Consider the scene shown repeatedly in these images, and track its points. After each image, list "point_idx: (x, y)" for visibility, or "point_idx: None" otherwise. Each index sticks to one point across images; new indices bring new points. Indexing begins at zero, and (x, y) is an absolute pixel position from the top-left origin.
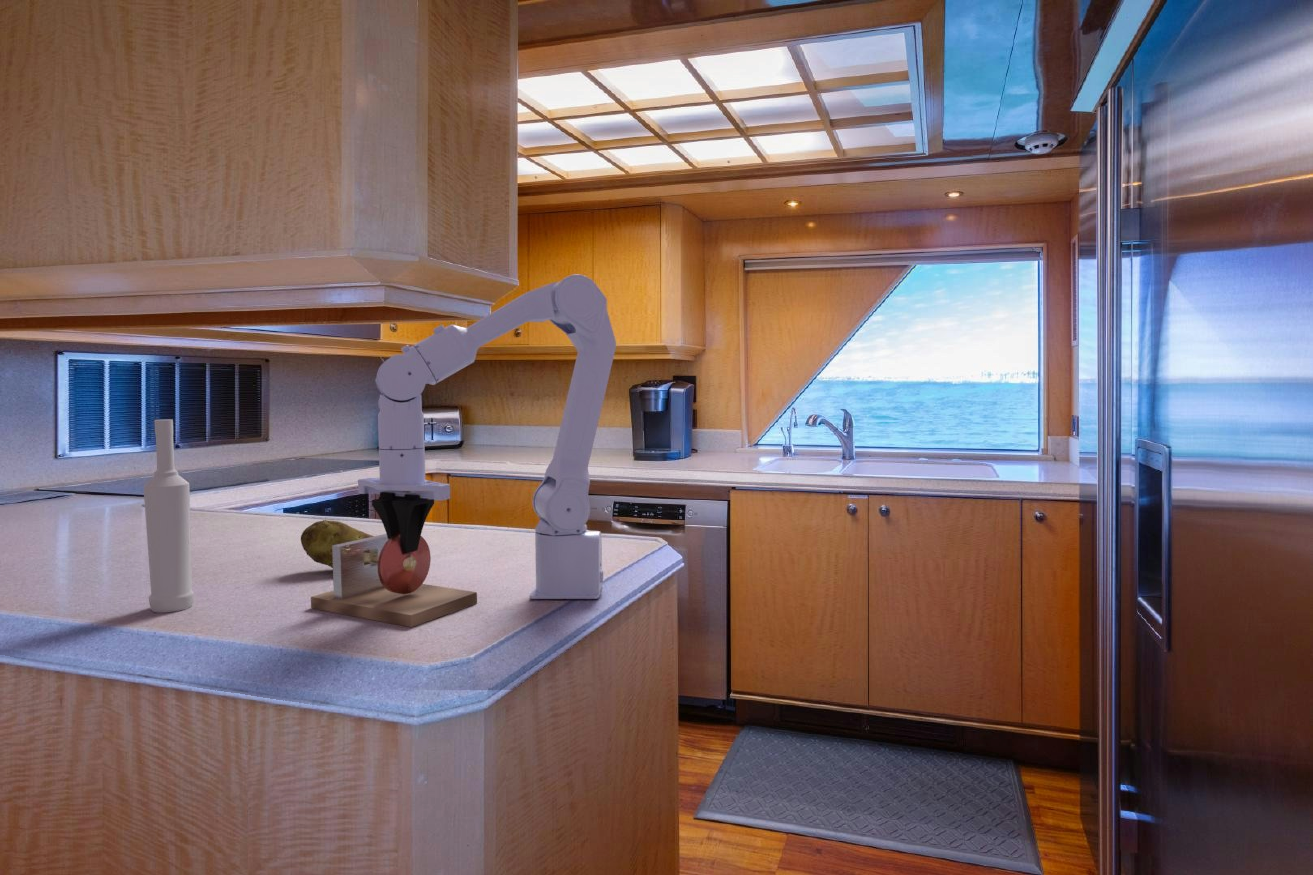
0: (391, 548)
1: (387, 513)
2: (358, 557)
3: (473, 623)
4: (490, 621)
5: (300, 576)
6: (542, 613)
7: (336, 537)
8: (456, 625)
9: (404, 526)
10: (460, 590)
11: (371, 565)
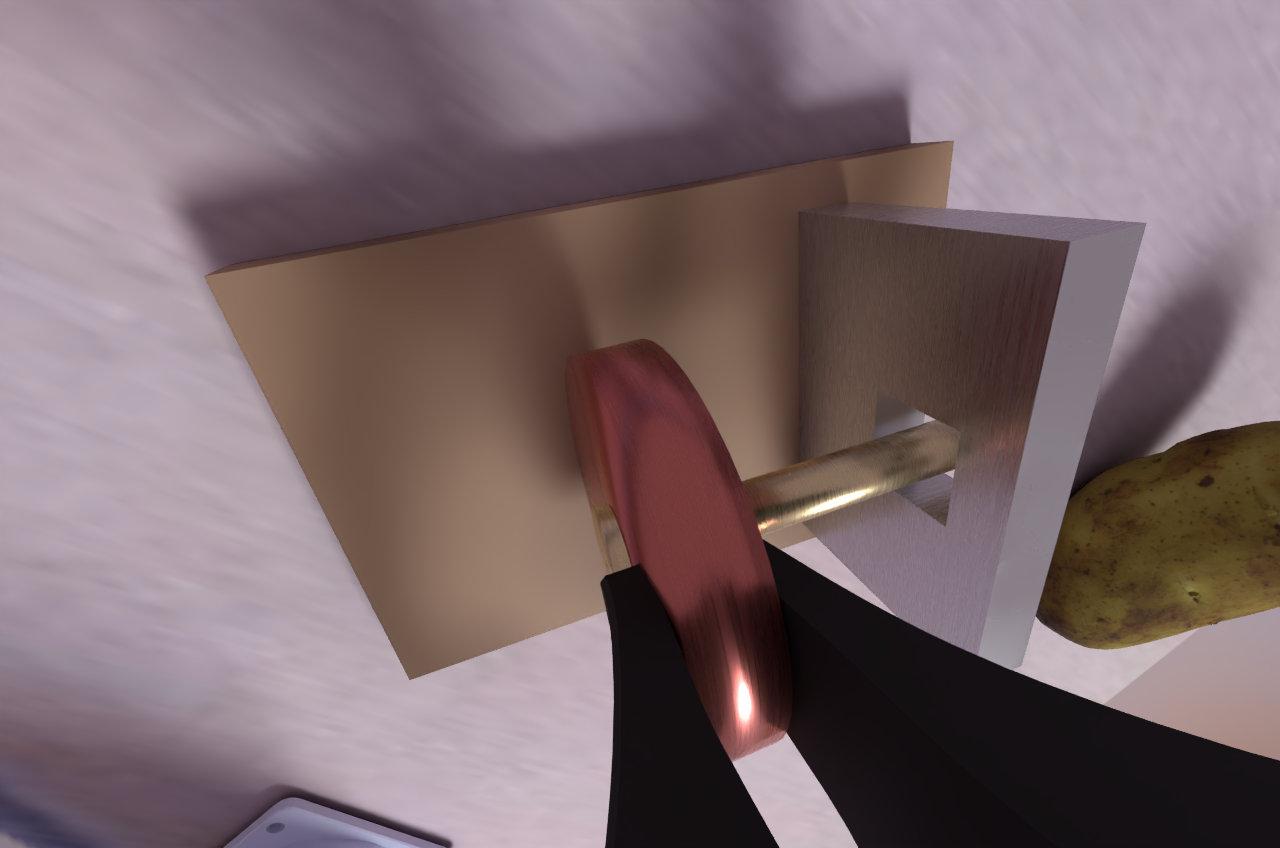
0: (640, 500)
1: (1004, 817)
2: (937, 378)
3: (69, 514)
4: (48, 583)
5: (1185, 363)
6: (26, 779)
7: (1261, 526)
8: (92, 442)
9: (633, 786)
10: (493, 642)
11: None
